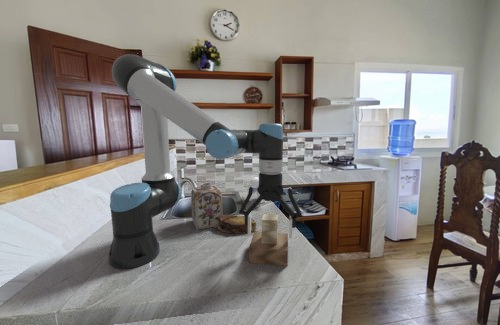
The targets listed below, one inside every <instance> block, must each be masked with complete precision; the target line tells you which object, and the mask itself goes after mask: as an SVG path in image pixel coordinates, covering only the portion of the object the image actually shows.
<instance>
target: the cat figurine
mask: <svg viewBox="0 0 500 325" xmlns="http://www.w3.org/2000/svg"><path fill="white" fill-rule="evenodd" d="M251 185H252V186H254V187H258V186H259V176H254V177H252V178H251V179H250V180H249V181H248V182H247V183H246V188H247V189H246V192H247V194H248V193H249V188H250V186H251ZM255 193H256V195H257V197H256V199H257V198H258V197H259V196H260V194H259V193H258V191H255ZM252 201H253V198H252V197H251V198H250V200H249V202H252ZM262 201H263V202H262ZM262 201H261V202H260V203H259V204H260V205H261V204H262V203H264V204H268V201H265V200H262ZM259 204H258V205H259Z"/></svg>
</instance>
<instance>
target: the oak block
mask: <svg viewBox="0 0 500 325" xmlns="http://www.w3.org/2000/svg"><path fill="white" fill-rule="evenodd" d="M261 232H262V243H265V244H277V241H278V233H279V214H267V213H263V214H262V218H261Z"/></svg>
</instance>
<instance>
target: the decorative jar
mask: <svg viewBox="0 0 500 325" xmlns="http://www.w3.org/2000/svg"><path fill="white" fill-rule="evenodd" d="M190 193H191V196H190V197H191V198H190V200H191V216H192V218H191V219H192V222H193V224H194V226H195V229H196V230H197V231H198V230H202V229H203V230H204V229H208V228H214V227H218V225H219V223H218V219H219V216H224V215H223V214H224V213H223V194H222V192H221V189H220V187H218V186H215V185H212V183H211V182H203V183H201V184H200V186H197V187H194V188H192V190H191V191H190Z"/></svg>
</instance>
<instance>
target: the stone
mask: <svg viewBox="0 0 500 325" xmlns="http://www.w3.org/2000/svg"><path fill="white" fill-rule="evenodd" d="M218 223H219V225H218V226H217V231H219V232H222V233H230V234H231V233H235V234H243V233H248V225H245V216H244V215H239V216H238V215H235V214H232V215H231V214H230V215H229V214H226V215H223V216H219V219H218ZM251 231H253V232H254V231H257V222H256V221H255V220H254V219H253V218H252V217H251Z"/></svg>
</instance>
